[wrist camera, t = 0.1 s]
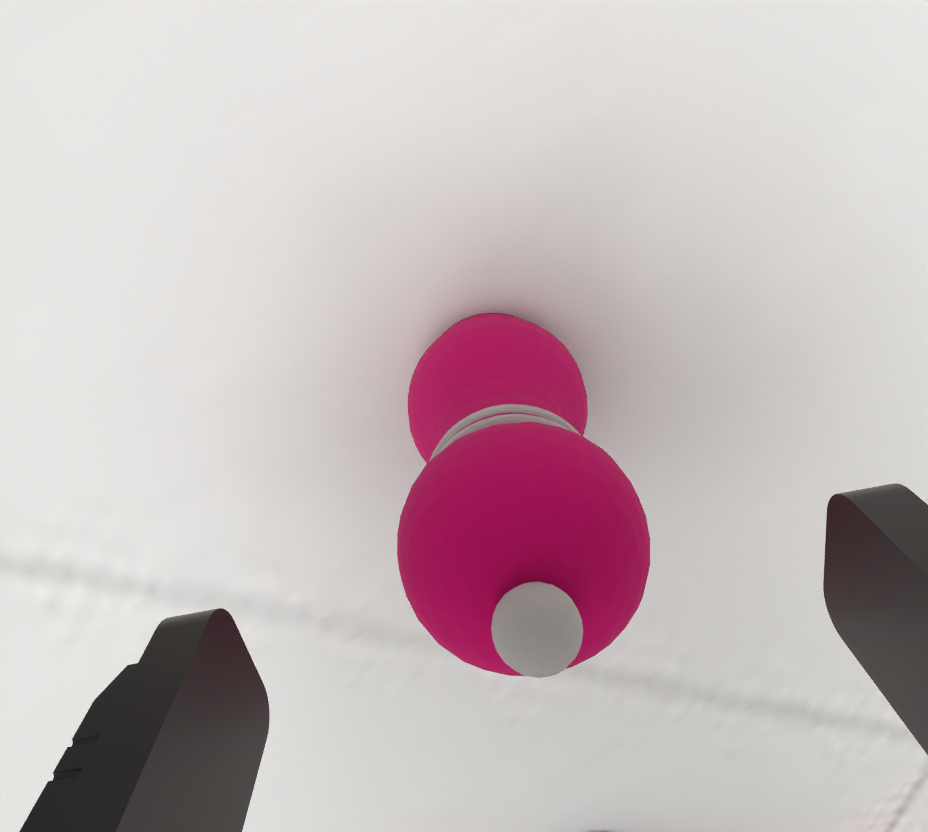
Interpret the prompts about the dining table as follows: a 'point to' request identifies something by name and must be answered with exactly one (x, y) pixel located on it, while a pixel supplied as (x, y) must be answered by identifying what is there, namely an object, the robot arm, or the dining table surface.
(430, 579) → the pepper mill
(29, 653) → the dining table surface
